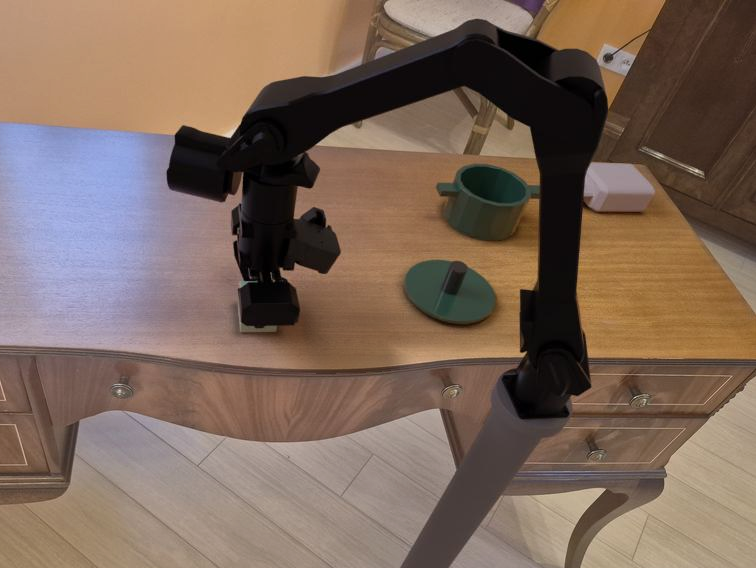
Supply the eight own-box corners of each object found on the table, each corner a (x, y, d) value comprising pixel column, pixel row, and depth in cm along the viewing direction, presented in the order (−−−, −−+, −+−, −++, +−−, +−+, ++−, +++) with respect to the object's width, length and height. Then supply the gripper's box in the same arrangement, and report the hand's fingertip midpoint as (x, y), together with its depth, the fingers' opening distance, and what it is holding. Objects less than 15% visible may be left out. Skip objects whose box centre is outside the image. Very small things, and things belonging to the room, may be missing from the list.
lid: (506, 326, 82) (520, 298, 78) (416, 327, 80) (427, 299, 76) (475, 265, 90) (487, 237, 86) (393, 265, 88) (402, 236, 84)
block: (276, 332, 76) (279, 305, 73) (240, 332, 76) (242, 306, 72) (272, 307, 79) (275, 280, 76) (237, 307, 79) (239, 280, 75)
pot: (541, 241, 96) (559, 207, 92) (439, 240, 93) (452, 204, 89) (514, 199, 104) (529, 165, 99) (419, 196, 101) (430, 161, 96)
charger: (540, 183, 108) (615, 184, 111) (563, 214, 102) (642, 214, 105) (551, 159, 105) (629, 160, 108) (575, 189, 99) (657, 190, 102)
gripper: (358, 266, 60) (333, 369, 72) (327, 164, 73) (309, 265, 84) (245, 265, 59) (237, 371, 70) (233, 161, 71) (228, 265, 82)
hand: (257, 313), depth 77 cm, fingers closed on block, 4 cm apart
